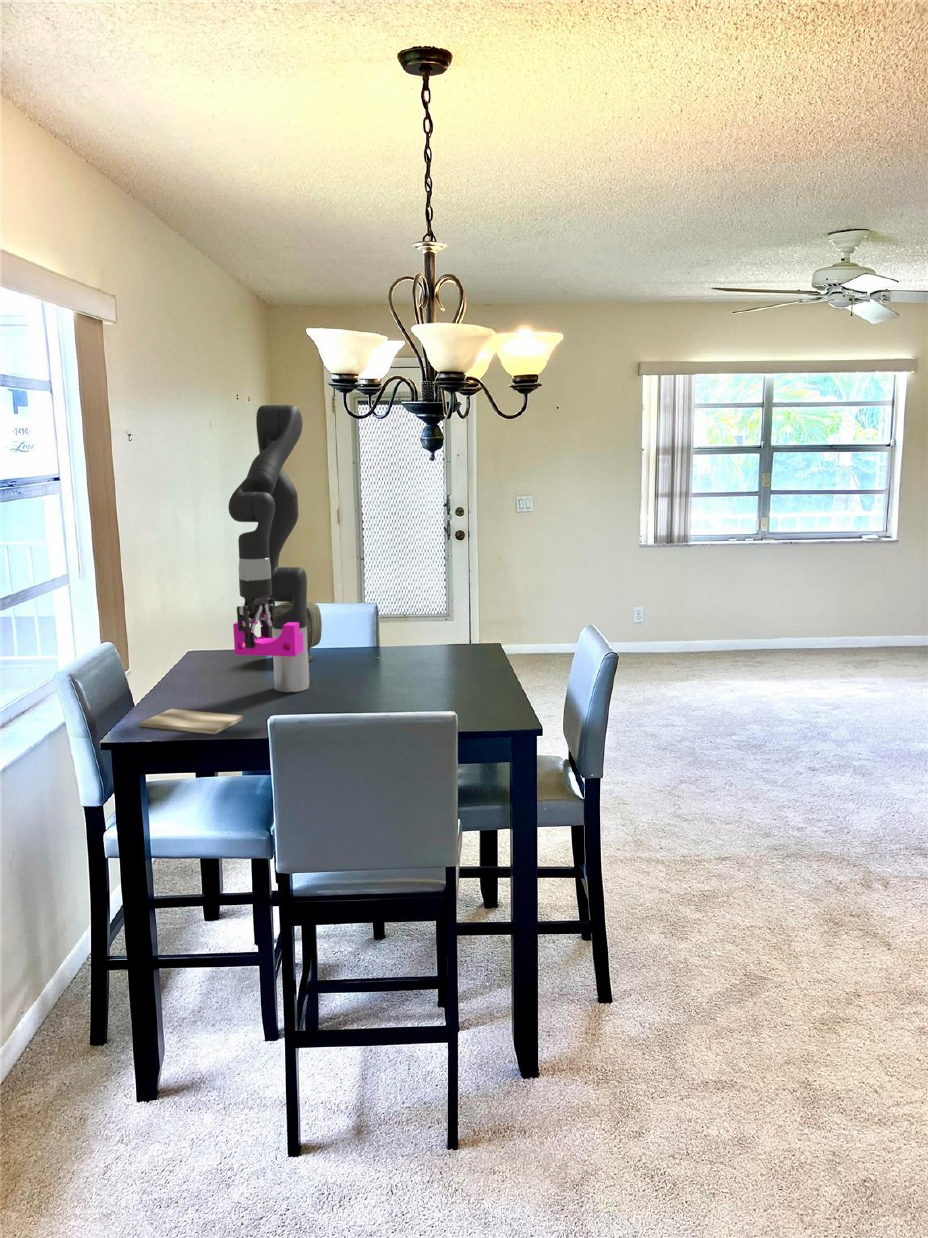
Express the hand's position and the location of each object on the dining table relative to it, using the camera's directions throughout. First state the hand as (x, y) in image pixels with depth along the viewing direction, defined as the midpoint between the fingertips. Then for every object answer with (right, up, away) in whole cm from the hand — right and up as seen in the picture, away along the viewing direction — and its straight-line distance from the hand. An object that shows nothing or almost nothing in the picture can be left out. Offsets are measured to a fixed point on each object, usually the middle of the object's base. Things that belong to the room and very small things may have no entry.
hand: (258, 644), depth 214 cm
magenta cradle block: (+3, -2, 0) cm, 3 cm away
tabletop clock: (-2, -6, +65) cm, 65 cm away
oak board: (-15, -18, -4) cm, 24 cm away
